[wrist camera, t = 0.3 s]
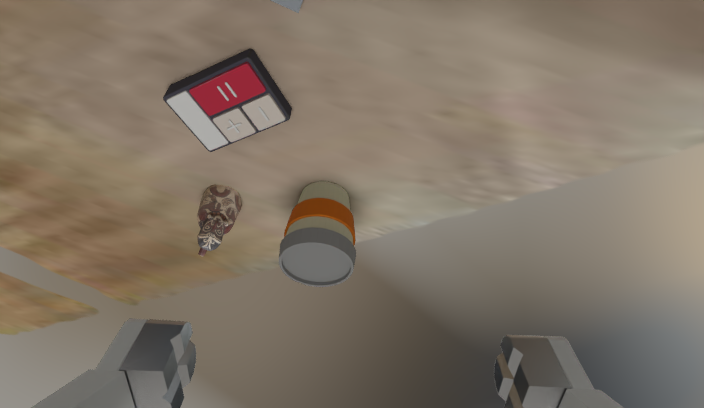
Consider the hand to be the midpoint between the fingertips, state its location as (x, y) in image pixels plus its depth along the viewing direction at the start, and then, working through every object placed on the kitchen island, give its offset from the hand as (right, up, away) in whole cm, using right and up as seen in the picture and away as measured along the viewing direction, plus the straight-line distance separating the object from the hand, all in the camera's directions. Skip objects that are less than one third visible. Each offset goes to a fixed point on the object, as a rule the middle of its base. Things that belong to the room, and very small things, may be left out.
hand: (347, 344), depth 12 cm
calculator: (-18, +20, +56) cm, 62 cm away
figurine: (-24, +5, +71) cm, 75 cm away
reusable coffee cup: (-5, +5, +70) cm, 70 cm away
